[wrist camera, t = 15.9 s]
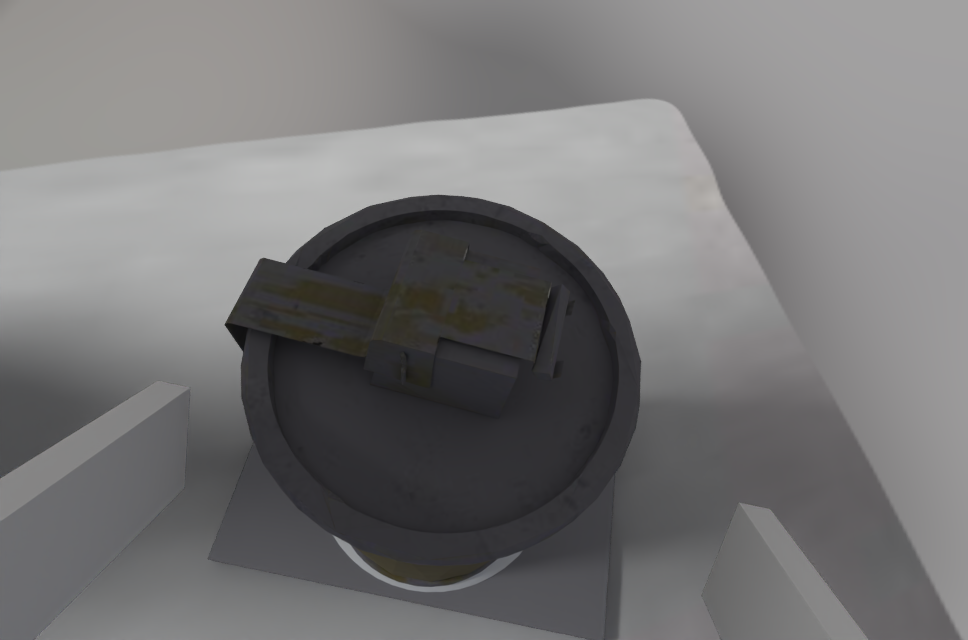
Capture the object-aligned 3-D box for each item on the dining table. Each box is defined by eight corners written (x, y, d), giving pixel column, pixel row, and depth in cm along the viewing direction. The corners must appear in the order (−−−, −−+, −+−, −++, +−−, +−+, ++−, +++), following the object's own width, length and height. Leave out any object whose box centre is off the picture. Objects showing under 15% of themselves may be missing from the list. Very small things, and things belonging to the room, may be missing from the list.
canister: (542, 415, 32) (697, 183, 14) (505, 611, 27) (670, 625, 9) (365, 368, 32) (301, 80, 14) (295, 554, 27) (68, 461, 10)
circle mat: (212, 560, 27) (206, 559, 27) (305, 321, 34) (303, 314, 33) (598, 641, 28) (604, 642, 27) (616, 388, 34) (621, 382, 33)
